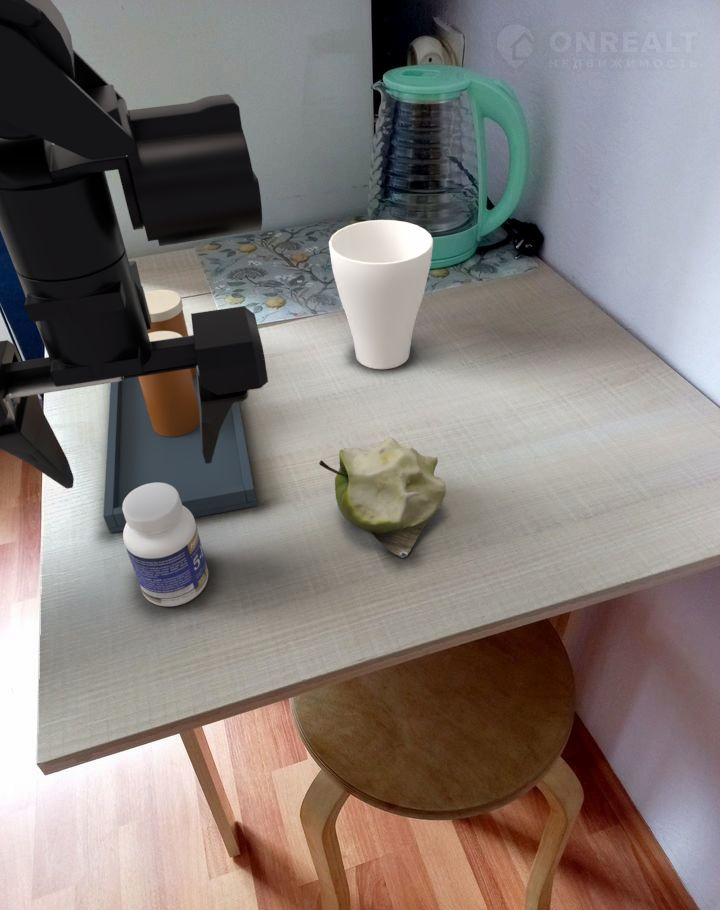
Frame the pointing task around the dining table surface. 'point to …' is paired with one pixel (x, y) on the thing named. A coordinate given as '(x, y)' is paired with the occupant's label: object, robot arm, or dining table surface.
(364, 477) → the fruit
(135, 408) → the tray
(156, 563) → the pill bottle
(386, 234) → the cup
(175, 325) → the amber bottle far
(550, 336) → the dining table surface
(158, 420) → the amber bottle middle
